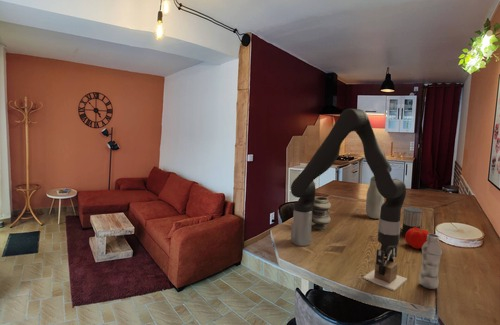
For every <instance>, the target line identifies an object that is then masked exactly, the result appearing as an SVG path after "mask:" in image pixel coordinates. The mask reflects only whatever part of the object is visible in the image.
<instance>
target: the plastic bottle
mask: <svg viewBox="0 0 500 325" xmlns="http://www.w3.org/2000/svg"><path fill="white" fill-rule="evenodd" d="M439 237H440V236H439V235H438V234H433V233H429V234H427V241H426V242H425V243H424V244H423V246H422V249H421V256H422V257H421V267H420V272H419V275H418V282H419V284H420V285H421V286H422V287H424V288H425V289H430V290H435V289H437V287H438V286H439V285H440V284H439V282H440V281H439V278H440V277H439V266H440V261H441V257H442V253H443V250H442V247H441V245H440V244H439V241H440V239H439Z"/></svg>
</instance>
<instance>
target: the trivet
mask: <svg viewBox="0 0 500 325" xmlns="http://www.w3.org/2000/svg"><path fill="white" fill-rule="evenodd" d="M374 274H375V268H374V269H373V270H371V271H369V272H368V273H367V274H365V275H364V276H363V277H362V279H363V280H367V281H369V282H371V283H373V284H375V285H379V286H381V287H384V288H386V289H388V290H391V291H394V292H395V291H397V290H398V289H399V288H400V287H401V286H403V285H404V283H406V282H407V281H408V278H407V277H404V276H401V275H398V274H397V276H396V279H395V280H394V281H392V282H391V283H387V282H385V281H382V280H380V279H377V278H375V277H374Z"/></svg>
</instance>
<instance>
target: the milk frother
mask: <svg viewBox="0 0 500 325" xmlns="http://www.w3.org/2000/svg"><path fill="white" fill-rule="evenodd" d="M422 213H423V209H422V208H421V209H420V208H419V207H412V206H405V207H404V206H403V218H402V227H400V234H401V235H403V236H405V235H406V233H407V231H408V230H409V229H413V228H414V227H417V228H419V229H420V230H421V223H422V215H423V214H422Z"/></svg>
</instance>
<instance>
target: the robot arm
mask: <svg viewBox="0 0 500 325" xmlns="http://www.w3.org/2000/svg"><path fill="white" fill-rule="evenodd" d="M352 132H355V133H356V134H357V136H358V137H359V139H360V141H361V143H362V147H363V154H364V159H365V161H366V163H367V165H368V167H369V169H370V171H371V173H372V174H373V176H374V179H375V182H376V186H377V189H378V191H379V193H380V194H381V195H382V196H383V197H384V199H385V200H384V204H382V206H381V211H380V218H379V221H378V231H377V241H378V243H380V248H379V249H378V248H377V249H376V256H375V257H376V258H375V263H376V264H377V265H379V271H378V273H379V274H380V275H383V276H384V275H385V267H386V262H387V261H391V262H394V261H395V260H396V258H397V256H398V249H399V248H398V246H399V244H400V236H401V229H400V228H401V215H402V213H401V212H402V209H403V205H404V202H405V199H406V195H407V194H406V193H407V186H406V184H405V182H404V181H403V180H402V179H400V178H392V175H391V172H392V166H391V164H390V162H389V161H388V159H387V157H386V155H385V154H384V152H383V149H382V148H381V145H380V144H379V142H378V139H377V138H376V135H375V131H374V128H373V126H372V124H371V121H370V119H369V116H368V114H367V113H366V111H364V110H363V109H359V108H346V109H344V110H343V111H342V112H341V113H340V114H339V115H338V118H337V119H336V120H335V123H334V125H333V127H332V128H331V130H330V131H329V133H328V134H327V136H326V137H325V139H324V140H323V142H322V143H321V145H320V146H319V147H318V149H317V150H316V151H315V153H314V154H313V156H312V157H311V159H310V161H308V163H307V164H306V165H305V167H304V168H303V170H302V171H301V172H300V173H299V174H298V175H297V177H295V179H293V181H292V183H291V186H290V192H291V194H292V196H293V197H295V198H299V199H298V200H297V201H295V203H293V218H292V223H291V226H290V228H291V229H290V230H291V231H290V242H292V244H294V245H295V246H299V247H308V246H310V245H311V244H312V240H311V239H312V228H311V226H312V225H313V224H312V223H313V222H312V208H313V205H314V201H315V197H316V183H315V180H316V179H317V178H318V177H320V176H322V175H323V174H324V173H326V172H327V171H328V170H329V169H330V168H331V167H332V166H333V165H334V163H335V162H336V161H337V159H338V157H339V155H340V152H341V151H340V150H341V145H342V143H343V142H344V140H345V139H346V138H347V136H349V134H350V133H352ZM394 263H395V262H394Z"/></svg>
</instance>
